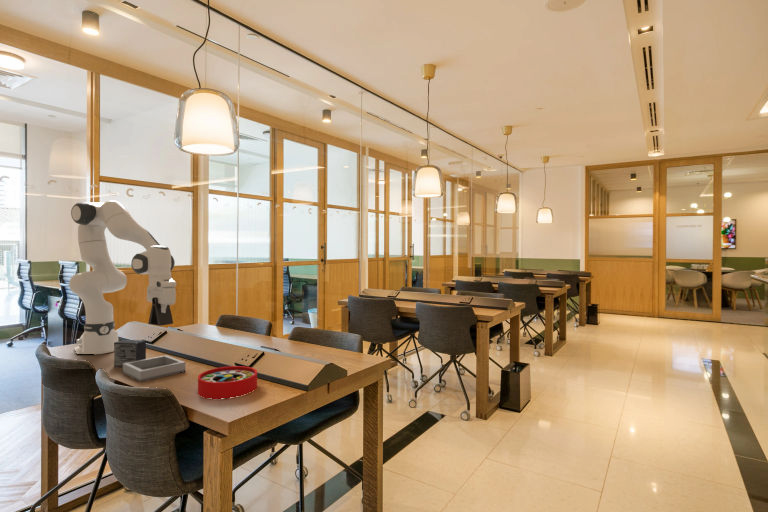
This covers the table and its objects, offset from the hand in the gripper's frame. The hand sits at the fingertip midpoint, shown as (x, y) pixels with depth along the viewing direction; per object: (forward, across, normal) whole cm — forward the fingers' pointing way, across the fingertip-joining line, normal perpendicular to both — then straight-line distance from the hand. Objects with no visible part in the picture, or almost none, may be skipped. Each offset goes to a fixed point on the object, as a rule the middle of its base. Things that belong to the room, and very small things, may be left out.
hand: (160, 313), depth 184 cm
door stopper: (+5, 0, 0) cm, 5 cm away
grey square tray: (+22, +14, -9) cm, 27 cm away
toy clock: (+22, +55, -1) cm, 59 cm away
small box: (+22, -4, -11) cm, 25 cm away
